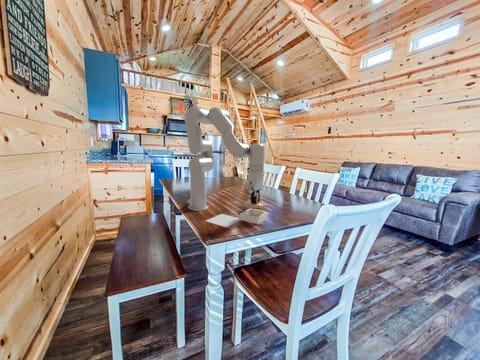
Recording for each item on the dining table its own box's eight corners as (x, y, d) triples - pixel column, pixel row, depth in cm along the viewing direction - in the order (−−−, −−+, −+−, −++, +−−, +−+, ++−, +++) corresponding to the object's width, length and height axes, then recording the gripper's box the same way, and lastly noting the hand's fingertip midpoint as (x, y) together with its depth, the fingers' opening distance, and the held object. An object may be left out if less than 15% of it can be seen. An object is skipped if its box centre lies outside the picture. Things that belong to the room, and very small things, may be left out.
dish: (239, 220, 112) (240, 213, 111) (250, 214, 121) (250, 208, 120) (258, 225, 106) (258, 217, 105) (267, 219, 115) (268, 212, 114)
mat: (204, 221, 108) (204, 220, 108) (221, 214, 120) (221, 213, 120) (226, 228, 101) (226, 227, 101) (242, 219, 113) (242, 219, 113)
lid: (239, 205, 110) (239, 193, 109) (250, 200, 120) (251, 189, 119) (260, 209, 104) (260, 197, 102) (270, 204, 114) (270, 192, 112)
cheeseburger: (266, 209, 131) (265, 195, 127) (258, 218, 123) (258, 203, 119) (251, 206, 136) (250, 192, 132) (243, 214, 128) (242, 200, 124)
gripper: (257, 166, 117) (256, 198, 120) (241, 168, 104) (240, 204, 107) (269, 167, 113) (268, 200, 116) (255, 170, 100) (253, 207, 103)
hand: (255, 202), depth 111 cm, fingers closed on lid, 3 cm apart
